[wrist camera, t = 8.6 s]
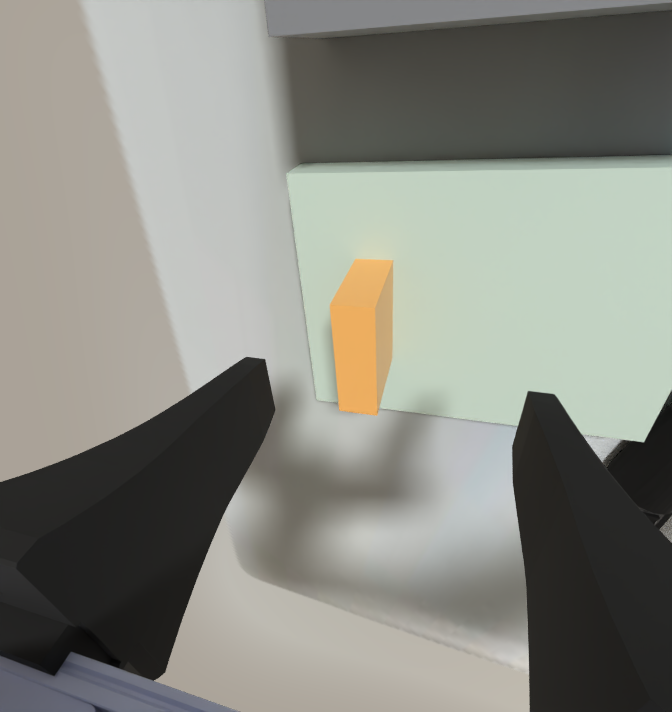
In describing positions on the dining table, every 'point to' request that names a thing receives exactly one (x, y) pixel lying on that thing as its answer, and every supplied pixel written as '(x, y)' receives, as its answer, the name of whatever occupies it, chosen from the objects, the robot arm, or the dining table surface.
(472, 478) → the dining table surface
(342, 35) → the tub
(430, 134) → the dining table surface
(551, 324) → the lid
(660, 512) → the electric trimmer
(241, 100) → the dining table surface
